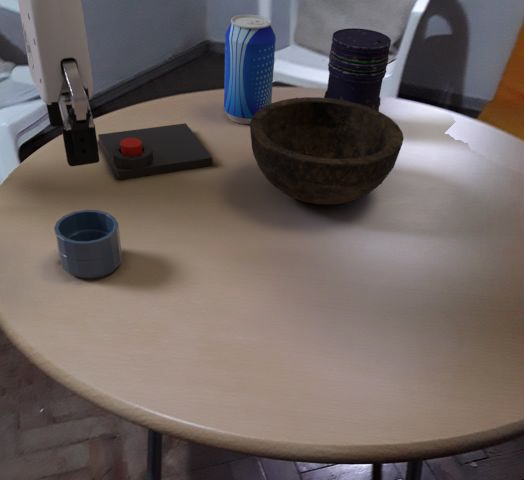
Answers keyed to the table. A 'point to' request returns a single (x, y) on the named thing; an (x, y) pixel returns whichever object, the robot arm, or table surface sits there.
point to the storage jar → (357, 66)
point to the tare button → (131, 146)
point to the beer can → (248, 66)
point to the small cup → (88, 243)
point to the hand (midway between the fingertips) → (74, 143)
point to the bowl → (324, 148)
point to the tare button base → (156, 151)
